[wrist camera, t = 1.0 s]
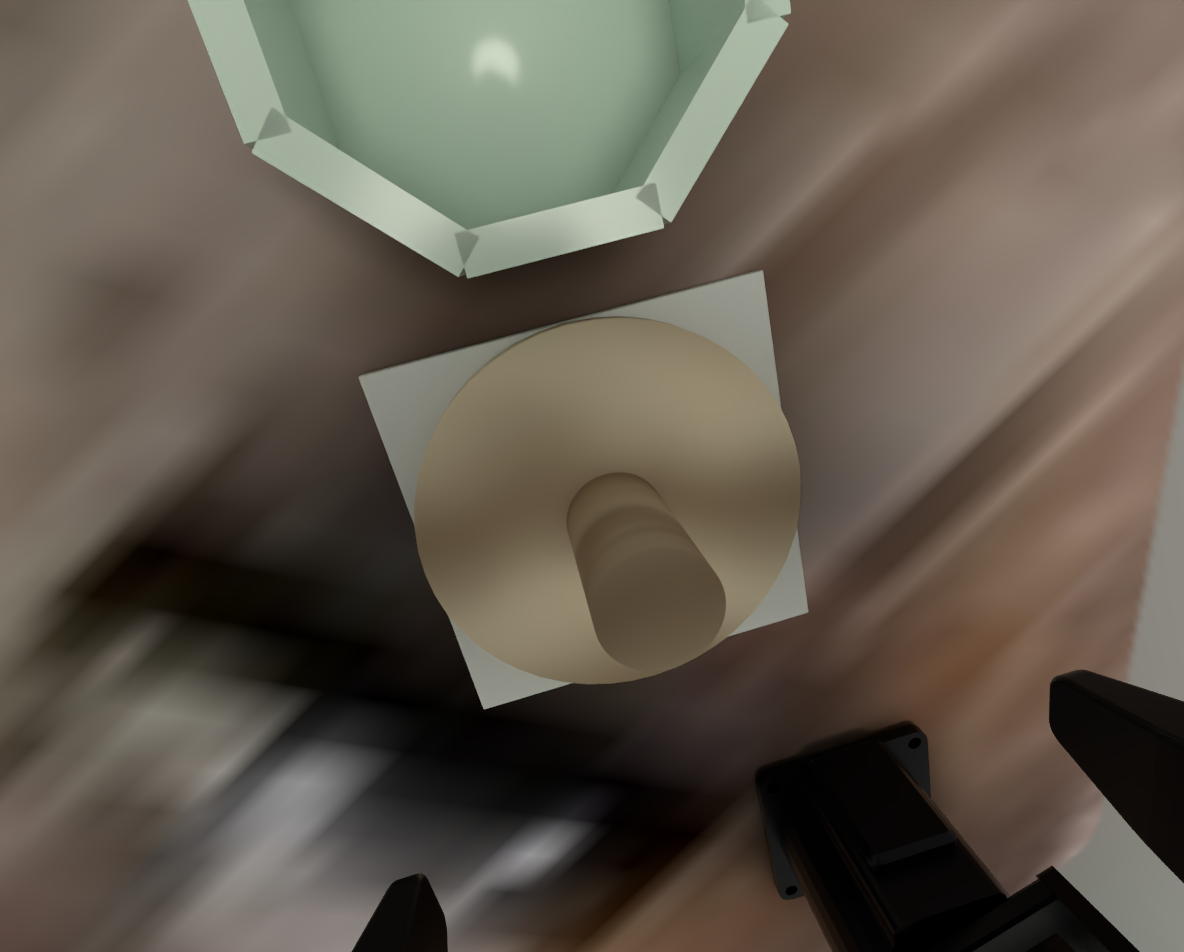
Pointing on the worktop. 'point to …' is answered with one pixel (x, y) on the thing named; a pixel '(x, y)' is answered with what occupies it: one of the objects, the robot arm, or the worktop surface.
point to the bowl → (491, 111)
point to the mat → (427, 386)
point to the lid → (607, 500)
